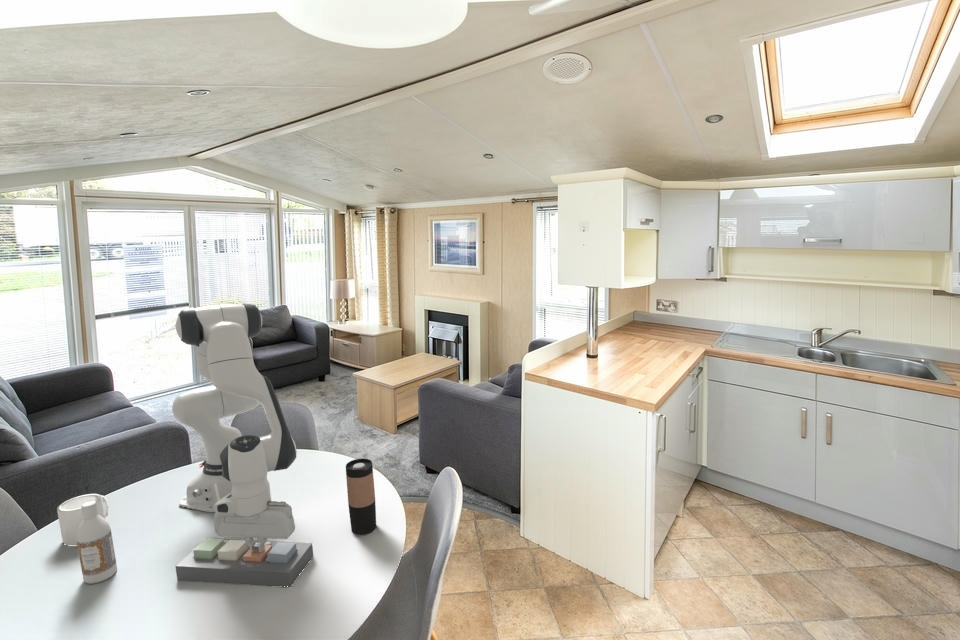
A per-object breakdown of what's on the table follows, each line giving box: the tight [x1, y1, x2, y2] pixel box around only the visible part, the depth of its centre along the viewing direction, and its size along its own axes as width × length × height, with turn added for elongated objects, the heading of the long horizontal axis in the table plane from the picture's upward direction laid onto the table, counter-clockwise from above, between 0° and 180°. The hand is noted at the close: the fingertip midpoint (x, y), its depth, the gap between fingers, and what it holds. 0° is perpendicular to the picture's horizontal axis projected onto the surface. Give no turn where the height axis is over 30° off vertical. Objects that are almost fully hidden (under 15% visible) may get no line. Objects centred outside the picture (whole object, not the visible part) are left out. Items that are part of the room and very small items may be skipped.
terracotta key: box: [243, 545, 272, 562], centre depth 127 cm, size 5×5×4 cm
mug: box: [56, 493, 109, 545], centre depth 146 cm, size 14×10×11 cm
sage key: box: [192, 537, 225, 560], centre depth 129 cm, size 5×5×4 cm
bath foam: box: [76, 501, 118, 585], centre depth 126 cm, size 7×7×20 cm
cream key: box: [218, 539, 248, 561], centre depth 128 cm, size 5×5×4 cm
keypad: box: [175, 537, 314, 588], centre depth 128 cm, size 30×12×4 cm, turn 82°
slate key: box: [267, 541, 297, 564], centre depth 126 cm, size 5×5×4 cm
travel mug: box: [345, 458, 377, 536], centre depth 143 cm, size 8×8×20 cm
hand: (257, 551), depth 127 cm, fingers closed, pressing on terracotta key
